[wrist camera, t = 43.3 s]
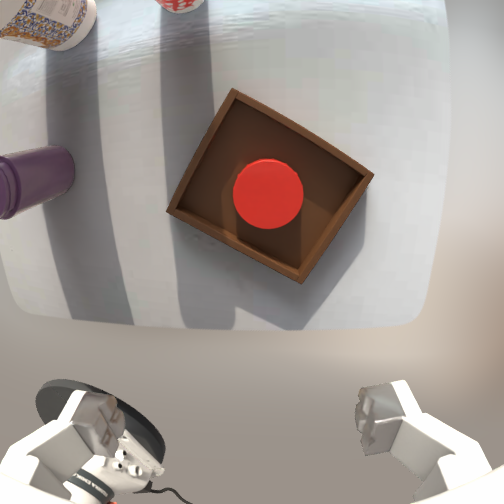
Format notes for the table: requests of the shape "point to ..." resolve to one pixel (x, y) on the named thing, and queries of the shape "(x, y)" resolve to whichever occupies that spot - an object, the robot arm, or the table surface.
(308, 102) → the table surface
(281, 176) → the lid
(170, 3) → the beverage cup
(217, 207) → the tray
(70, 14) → the bath foam
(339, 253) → the table surface
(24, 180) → the jar
